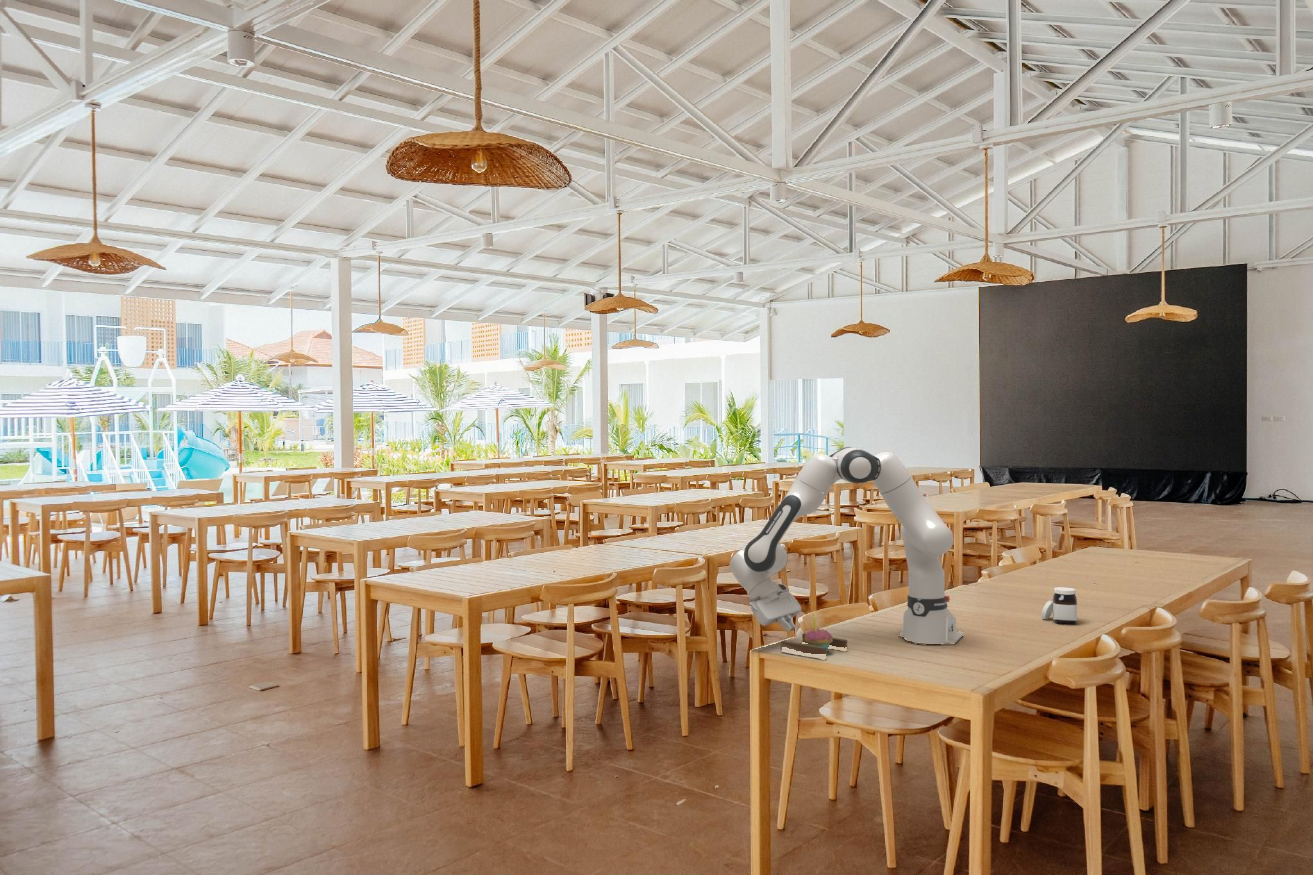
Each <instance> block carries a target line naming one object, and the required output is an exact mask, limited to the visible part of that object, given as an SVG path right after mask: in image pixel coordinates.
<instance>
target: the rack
mask: <svg viewBox="0 0 1313 875" xmlns="http://www.w3.org/2000/svg"><path fill="white" fill-rule="evenodd" d="M806 633H807V632H805V633H802V634H801V635H802V636H801V638H802V639H801V640H802V641H801V642H805V634H806ZM832 638H833V642H831V643H830V644H829V645H832V646H836V647H844V648H845V647H847V648H848V639H845V638H844V639H843V638H839V637H838V638H837V637H832ZM801 642H795V641H794V642H793V641H788V640H785V639H784V640H781V641H780V648H781V647H787V648H789V649H794V650H796V651H801V652H803V653H811V654H827V653H828V650H827V648H826V647H820V646H814V645H808V644H802V643H801ZM805 643H807V642H805Z"/></svg>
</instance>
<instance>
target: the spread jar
mask: <svg viewBox="0 0 1313 875" xmlns="http://www.w3.org/2000/svg"><path fill="white" fill-rule="evenodd" d="M1053 590H1054V591H1053V593H1054V594H1053V595H1052V596H1053V597H1052V600H1050V599H1049V600H1048V601H1046V603H1045V604H1044V606H1043V608H1042V610H1041V614H1040V615H1041V618H1042V619H1044V620H1046V619H1047V620H1048V619H1049V618H1051V616H1052V621H1053V622H1054V623H1055V624H1057V625H1064V624H1072V625H1076V624H1077V622H1078V599H1077V595H1076V592H1077V591H1076V588H1072V587H1067V586H1066V587H1065V586H1059V587H1058V586H1057V587H1054V589H1053Z"/></svg>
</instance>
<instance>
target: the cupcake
mask: <svg viewBox="0 0 1313 875" xmlns="http://www.w3.org/2000/svg"><path fill="white" fill-rule="evenodd" d="M812 616H813V617H812V621H813V629H811V630H809V631H807V632H805V633H806V634H805V642H807V643H808V645H814V646H820V647H826V648H827V649H828V647H829V644H830V643H831V642H833V638H834V637H833V635H832V633H830V632H829V631H827V630H825V629H822V628H821V629H819V628H817V623H816V617H815V615H814V614H812ZM828 650H829V649H828Z"/></svg>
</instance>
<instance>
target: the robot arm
mask: <svg viewBox="0 0 1313 875" xmlns="http://www.w3.org/2000/svg"><path fill="white" fill-rule="evenodd" d="M840 480H843V481H845V482H848V483H851V484H856V485H859V484H864V483H865V484H866V483H868V482H871V481H872V483H873V484H874V485H875V486H876V488H877V490H878V492H879V494H880V495H881V497H882V499H883V501H884V502H885V504H886V506H887V507H888V508H889V510H890V512H891V513H892V515H893V516H894V517H895V518H896V520H898V521H899V523H900V524H901V525H902V526H901V528H900V536H901V538H902V542H903V546H904V551H905V553H904V554H905V558H906V563H907V569H908V570H907V572H908V594H907V597H906V598H907V599H906V603H907V604H906V606H907V608H906V610H905V611H904V612H903V617H902V618H903V619H902V621H903V622H902V630H901V632H899V633H898V636H899V635H901V636H903V637H904V638H906V639H907V640H911V641H913V642H920V643H928V644H941V643H956V642H957V641H958V640H959V639H960V638H961V637H962V636H963V635H964V636H965V632H963V631H961V630H957V619H956V618H957V617H956V616H954V615H953V613H952V612H951V611H950V610H949V609H948V606H949V605H948V603H950V600H951V598H950V595H945V590H946V589H945V588H946V587H945V585H946V584H945V570H944V568H943V565H942V562H941V557H940V556H941V555H944V554H946V553H948V552H949V551H950V550H951V549H952V547H953V545H954V534H953V532H952V530H951V529H950V528H949V527H948V526H947V525H946V524H945V522H944V520H943V519H942V518H941V517H940V515H939V514H938V513H937V512H936V510H935V509H934V508H933V506H932V504H930V503H929V502H928V500H927V499H926V497H925V496H924V495H923V493H922V492H921V490H920V488H919V487H918V485H917V483H916V482H915V480H914V479H913V476H912V475H911V473H910V472H909V470H908V469H907V467H906V466H905V465H904V463H903V462H902V461H901V460H900V459H899V457H898V456H897V455H896V454H895V453H893V452H891V451H882V452H878V453H877V454H875V455H873V454H871V453H870V452H868V451H866V450H863V449H861V448H858V447H855V446H854V447H853V446H846V447H842V448H840V449H838V450H837V451H835V452H833V453H832V454H830V455H828V454H826V453H814V454H812V456H810V458H808V460H807V461H806V463H805V464H804V465H803V467H802V468H801V469H800V471H799V472H798V474H797V475H796V477H795V478H794V480H793V482H792V484H791V486H790V487H789V490H788V491H787V493H786V495H785V496H784V498H783V499H782V501H781V502H780V503H779V505H778V506H777V508H776V509H775V511H774V512H773V514H772V515H771V516H770V518H769V519H768V521H767V522H766V524H765V526H764V527H763V529H762V530H761V531H760V532H759V533H758V534H757V536H756V537H754V538H753V539H752V540H749V542H748V543H747V545H746V546H745V548H742V549H740V550H738V551H736V552H735V553H734V554H733V556H732V557H731V559H730V561H729V568H730V572H731V573H732V575H733V576H734V578H735V579H736V581H737V583H738V584H739V585H740V586H741V587H742V588H744V589H745V591H746V593H747V595H748V597H749V598H750V599H749V603H748V604H749V606H750V608H751V612H752V614H753V615H754V617H755V618H756V620H757V622H758V623H759V624H760V625H761V626H763V627H765V626H769V625H772V624H775V623H777V624H778V625H779V626H781V627H783V629H785V630H786V632H788V633H789V632H792V631H794V630H796V628H797V626H796V625H795V624H794V621H793V620H794V619H793V618H794V617H797V616H798V615H799V614H800V613H801V612H802V607H801V605H800V603H799V601H798V600H797V599H796V597H795V596H794V595H793V594H792V592H789V591H788V590H789V588H788V586H787V585H786V584H781V583H777V582H775V581H773V580H772V579H771V577H772V576H774V575H776V574H777V573H779V572H780V571H782V570H783V569H784V568H785V567H786V565H787V563H788V561H789V560H788V559H789V556H788V552H787V550H786V548H785V547H784V546H782V545H781V544H779V543H780V542H781V540H782V539H783V538H784V536H785V534H787V531H788V530H789V528H790V527H791V525H792V524H793V523H794V522H795V521H797V520H798V519H800V518H801V517H804V516H807V515H810V514H813V513H815V512H816V510H818V509H819V507H820V506H821V505H822V503H823V502H824V501H825V499H826V497H827V496H828V494H829V492H830V490H831V488H832V486H834V484H836V483H837V482H838V481H840ZM964 636H963V637H964ZM963 637H962V638H963ZM962 638H961V639H962ZM961 639H960V640H961ZM960 640H959V641H960ZM959 641H958V642H959ZM958 642H957V643H958ZM957 643H956V644H957ZM941 645H942V644H941Z"/></svg>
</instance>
